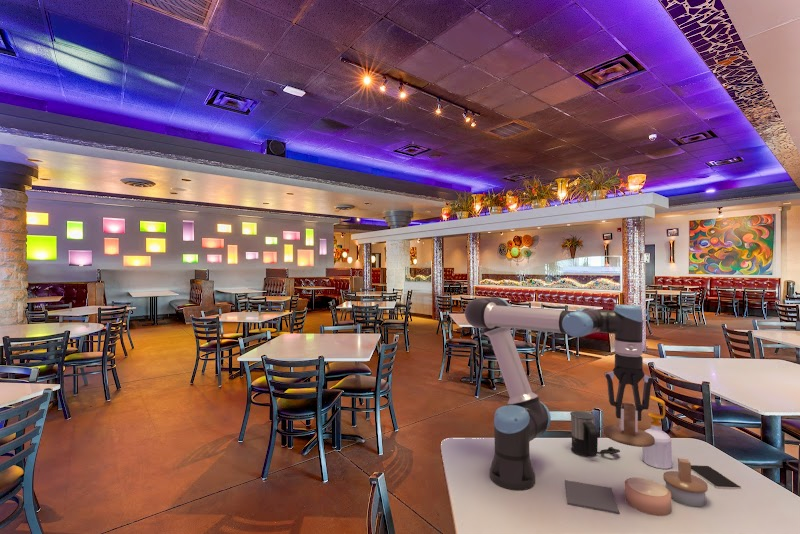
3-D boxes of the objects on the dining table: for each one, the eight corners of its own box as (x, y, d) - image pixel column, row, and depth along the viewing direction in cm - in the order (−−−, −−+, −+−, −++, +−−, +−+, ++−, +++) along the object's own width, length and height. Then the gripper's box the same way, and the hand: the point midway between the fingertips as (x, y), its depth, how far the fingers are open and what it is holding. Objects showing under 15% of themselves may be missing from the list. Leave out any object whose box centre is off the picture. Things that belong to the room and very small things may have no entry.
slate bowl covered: (669, 503, 116) (668, 465, 116) (659, 485, 126) (658, 450, 127) (714, 511, 112) (713, 472, 113) (699, 491, 123) (698, 455, 123)
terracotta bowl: (629, 510, 113) (628, 492, 113) (621, 489, 124) (621, 473, 124) (677, 519, 108) (676, 500, 108) (664, 497, 120) (664, 480, 120)
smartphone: (708, 465, 139) (742, 487, 124) (708, 469, 139) (742, 491, 124) (685, 464, 139) (716, 486, 124) (685, 468, 139) (716, 490, 124)
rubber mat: (567, 504, 116) (567, 502, 116) (565, 481, 129) (565, 479, 129) (619, 514, 111) (619, 512, 111) (611, 489, 124) (611, 487, 124)
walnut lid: (608, 442, 114) (608, 409, 114) (600, 425, 127) (600, 395, 127) (660, 450, 110) (660, 415, 110) (647, 432, 122) (647, 400, 123)
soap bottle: (644, 455, 148) (642, 392, 149) (673, 462, 142) (671, 396, 143) (641, 464, 141) (639, 397, 142) (671, 472, 135) (669, 402, 136)
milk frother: (565, 448, 154) (564, 411, 155) (596, 443, 159) (595, 408, 160) (592, 464, 141) (591, 424, 141) (625, 458, 145) (624, 419, 146)
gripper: (601, 354, 118) (601, 430, 118) (662, 359, 113) (662, 438, 112) (598, 350, 125) (597, 421, 125) (654, 354, 120) (654, 428, 119)
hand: (628, 429), depth 118 cm, fingers closed on walnut lid, 3 cm apart
